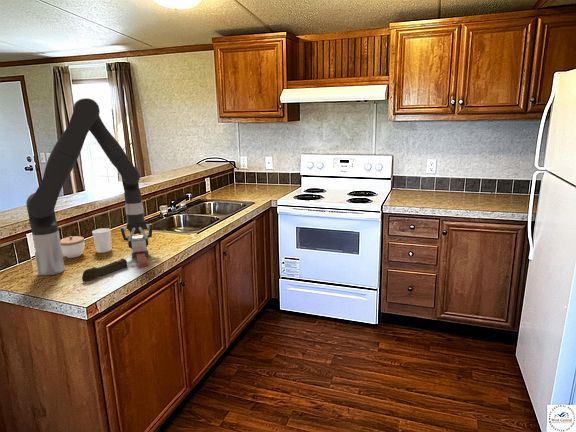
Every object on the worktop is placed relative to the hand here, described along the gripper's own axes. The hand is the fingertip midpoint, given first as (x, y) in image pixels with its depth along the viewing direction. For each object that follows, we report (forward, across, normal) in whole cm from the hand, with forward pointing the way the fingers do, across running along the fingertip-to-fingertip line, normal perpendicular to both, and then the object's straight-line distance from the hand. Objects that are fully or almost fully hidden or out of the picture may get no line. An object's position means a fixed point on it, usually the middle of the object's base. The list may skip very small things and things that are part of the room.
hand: (138, 247), depth 184 cm
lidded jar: (+4, -28, +13) cm, 31 cm away
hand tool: (+4, -15, -19) cm, 24 cm away
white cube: (+1, 0, 0) cm, 1 cm away
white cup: (+4, -15, +14) cm, 21 cm away
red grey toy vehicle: (+4, 0, -7) cm, 8 cm away
